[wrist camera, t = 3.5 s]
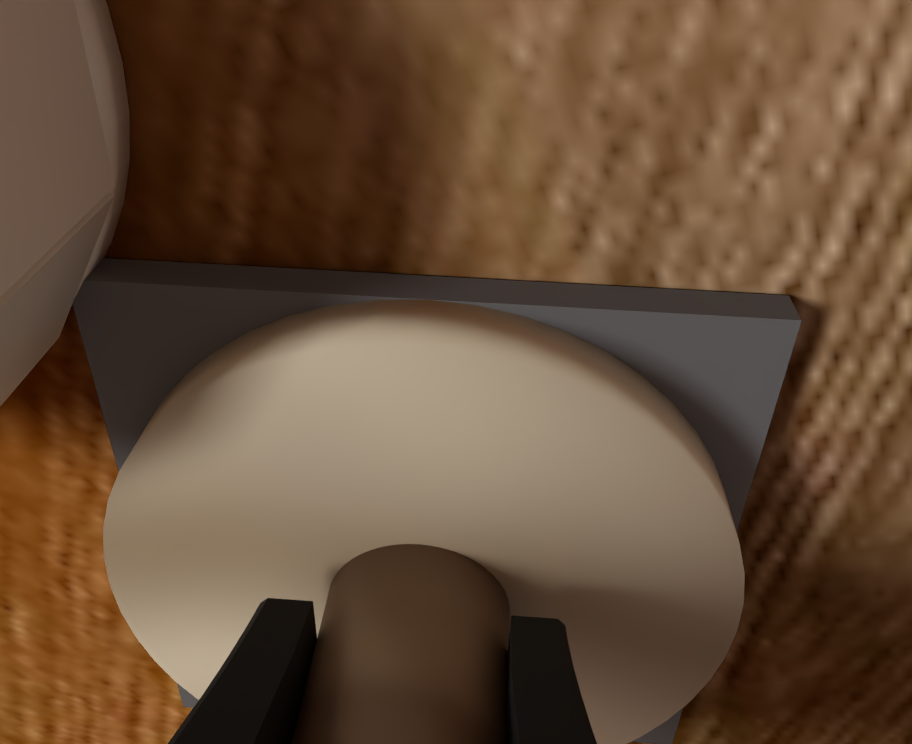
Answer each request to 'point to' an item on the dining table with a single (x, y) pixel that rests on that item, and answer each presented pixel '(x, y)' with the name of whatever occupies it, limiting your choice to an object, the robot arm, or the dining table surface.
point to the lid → (428, 521)
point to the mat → (556, 304)
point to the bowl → (55, 166)
